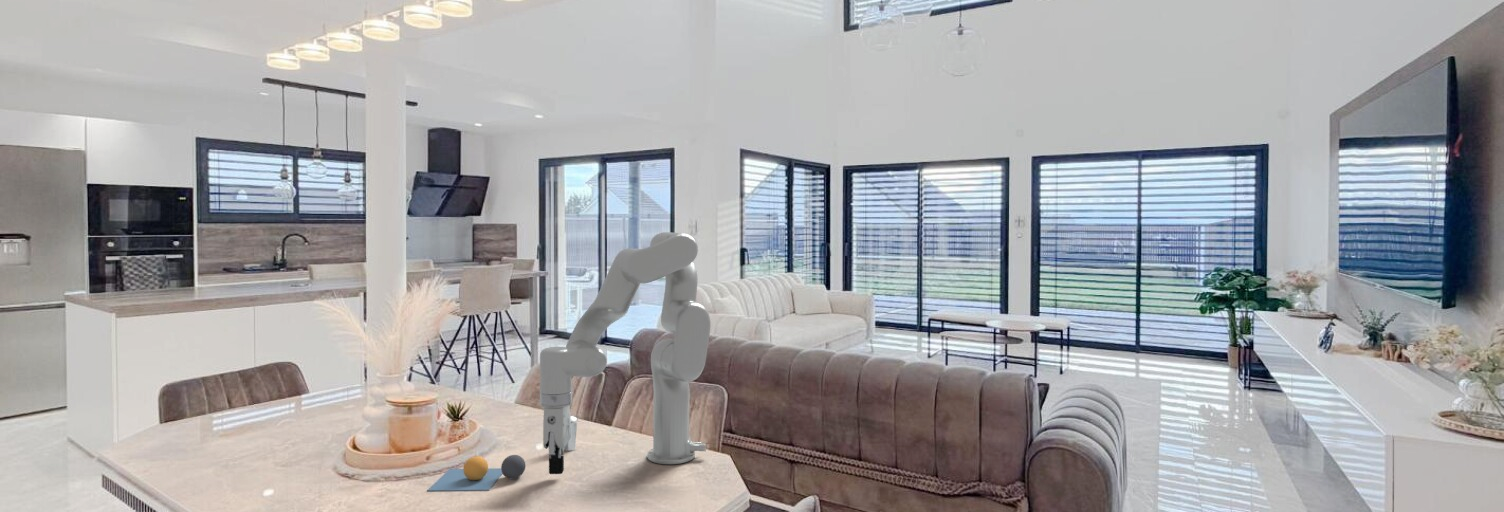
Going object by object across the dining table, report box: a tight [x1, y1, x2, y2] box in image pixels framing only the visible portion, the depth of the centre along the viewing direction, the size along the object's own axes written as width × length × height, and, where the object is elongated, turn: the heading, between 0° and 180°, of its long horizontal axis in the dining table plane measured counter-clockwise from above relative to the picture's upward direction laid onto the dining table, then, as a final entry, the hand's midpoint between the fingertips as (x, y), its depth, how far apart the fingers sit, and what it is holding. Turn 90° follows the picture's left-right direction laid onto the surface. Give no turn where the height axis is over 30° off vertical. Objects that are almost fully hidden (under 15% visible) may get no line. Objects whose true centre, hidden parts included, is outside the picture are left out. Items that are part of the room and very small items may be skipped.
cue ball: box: [500, 454, 526, 480], centre depth 171 cm, size 6×6×6 cm
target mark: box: [426, 467, 503, 492], centre depth 170 cm, size 14×14×1 cm
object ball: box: [462, 455, 489, 480], centre depth 170 cm, size 6×6×6 cm
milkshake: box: [564, 414, 580, 452], centre depth 193 cm, size 4×5×10 cm
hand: (556, 472), depth 171 cm, fingers closed
